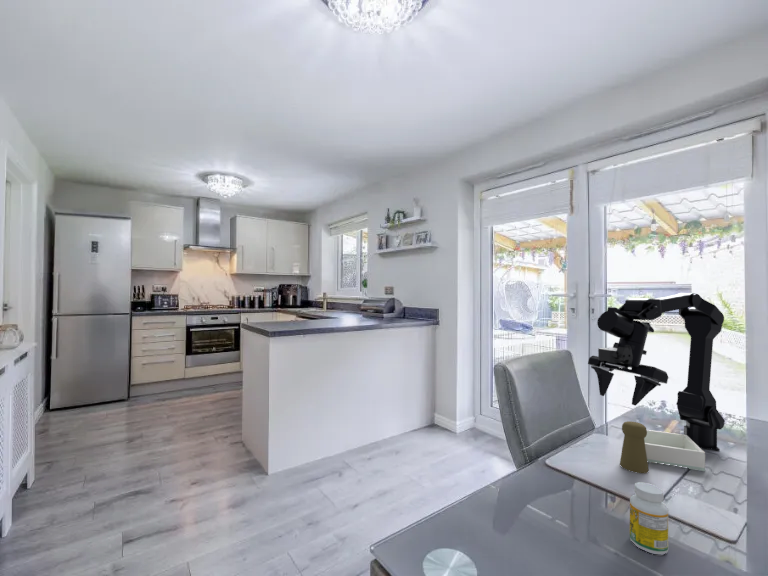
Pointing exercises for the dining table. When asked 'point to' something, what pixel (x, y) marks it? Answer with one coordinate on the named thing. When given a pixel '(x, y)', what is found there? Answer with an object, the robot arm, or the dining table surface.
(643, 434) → the cork
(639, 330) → the robot arm
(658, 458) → the open box
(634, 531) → the supplement bottle
